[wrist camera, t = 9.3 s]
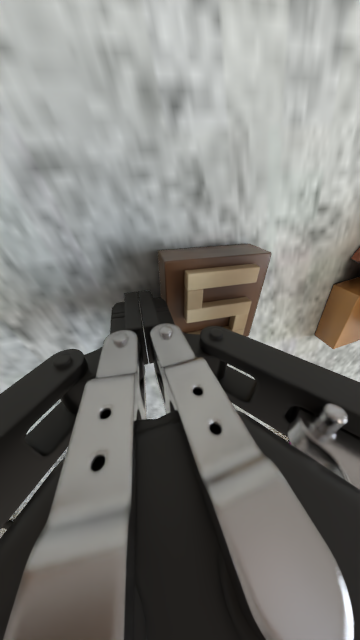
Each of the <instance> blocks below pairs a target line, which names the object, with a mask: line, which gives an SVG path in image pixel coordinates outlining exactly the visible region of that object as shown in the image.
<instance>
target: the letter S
mask: <svg viewBox="0 0 360 640" xmlns="http://www.w3.org/2000/svg"><path fill="white" fill-rule="evenodd" d="M270 257H271V252H268V251H266V250H264V249H261V248H259V247H256V246H254V245H251V244H240V245H226V246H212V247H198V248H184V249H170V250H159V251H158V266H159V279H160V293H161V298H162V299H164V300H165V301H166V303H167V306H168V308H169V311H170V313H171V316H172V318H173V321H174V323H175V325H177V326H178V327H179V328H180V329H181V331H182V332H184V333H188V334H200V332H201V331H202V329H204V328H205V327H208V326H220V327H223V328H226V329H228V330H231V331H233V332H236V333H238V334H241V335H243V336H246V337H247V336H249V333H250V329H251V326H252V322H253V318H254V315H255V311H256V308H257V304H258V300H259V297H260V293H261V290H262V286H263V282H264V279H265V275H266V272H267V268H268V264H269V261H270Z"/></svg>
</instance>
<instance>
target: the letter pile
mask: <svg viewBox="0 0 360 640" xmlns="http://www.w3.org/2000/svg"><path fill="white" fill-rule="evenodd" d="M351 259H352V260H354V261H356V262H358V263H360V247H359V249H358V250H357V251H356V252H355V254H354V255H353V256H352V257H351ZM315 336H316V337H318V338H319V339H320V340H322V341H323V342H324V343H326V344H327V345H328V346H330V347H331V348H332V349H335V348H338V347H341V346H343V345H346V344H349V343H352V342H355V341H358V340H360V277H357V278H354V279H350V280H347V281H344V282H341V283H337V284H334V285H333V288H332V290H331V293H330V296H329V298H328V301H327V303H326V306H325V309H324V311H323V314H322V317H321V319H320V322H319V325H318V327H317V330H316V332H315Z"/></svg>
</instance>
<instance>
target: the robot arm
mask: <svg viewBox="0 0 360 640" xmlns="http://www.w3.org/2000/svg"><path fill="white" fill-rule="evenodd" d="M138 294H139V301H140V307H141V313H140V307H139V301H138ZM138 294H137V292H132V293H124V296H125V302H119V303H116V304H115V305H114V306H113V308H112V315H111V328H110V335H108V336H107V337H106V339H105V340H104V343H103V347H101V348H100V349H98V350H96V351H93V352H91V353H88V354H86V355H83V353H82V352H81V351H79V350H77V349H68V350H64V351H61V352H58V353H56V354H54V355H53V356H51V357H50V358H48V359H47V360H46V361H44V362H43V363H42V364H40V365H39V366H38V367H36V368H35V369H34V370H32V371H31V372H29V373H28V374H27V375H25V376H24V377H23V378H21V379H20V380H19V381H17V382H16V383H15V384H13V385H12V386H11V387H9V388H8V389H6V390H5V391H4V392H2V393H1V394H0V529H1V528H6V529H7V531H6V532H5V533H4V535H3V536H2V537H1V539H0V640H360V382H357V381H355V380H352V379H350V378H347V377H345V376H343V375H340V374H338V373H335V372H333V371H330V370H328V369H325V368H323V367H320V366H318V365H315V364H313V363H310V362H308V361H305V360H303V359H300V358H298V357H295V356H293V355H290V354H288V353H285V352H283V351H280V350H278V349H275V348H273V347H270V346H268V345H266V344H263V343H261V342H258V341H256V340H253V339H251V338H248V337H246V336H243V335H241V334H238V333H236V332H233V331H231V330H228V329H226V328H223V327H220V326H208V327H205V328H204V329H202V331H201V332H200V334H188V333H184V332H182V331H181V329H180V328H179V327H178V326H177V325H175V323H174V321H173V318H172V316H171V313H170V311H169V308H168V306H167V303H166V301H165V300H164V299H162V298H161V297H158V298H153V297H152V294H151V290H148V291H140V292H138ZM141 314H142V320H143V326H144V333H145V339H146V345H147V351H148V357H149V363H154V368H155V375H156V379H157V383H158V386H159V390H160V393H161V397H162V400H163V404H164V407H165V411H166V415H164V416H162V417H160V418H158V419H147V418H146V393H145V366H144V365H145V364H148V359H147V352H146V346H145V339H144V333H143V326H142V320H141ZM227 363H228V364H230V365H232V366H234V367H236V368H238V369H240V370H242V371H244V372H246V373H248V374H249V375H251V376H253V377H254V378H255V380H254V379H252V378H250V377H248V376H246V375H244V374H242V373H240V372H238V371H236V370H234V369H232V368H230V367H228V366H227ZM59 399H61V402H60V403H59V404H58V405H57V406H56V407H55V408H54V409H53V410H52V411H51V412H50V413H49V414H48V415H47V416H46V417H45V418H44V419H43V420H42V421H41V422H40V423H39V424H38V425H37V426H36V427H35V428H34V429H33V430H32V431H31V432H30V433H29V434H27V435H26V433H27V431H28V430H29V429H30V427H31V426H32V425H33V424H34V423H35V422H36V421H37V420H38V419H39V418H40V417H41V416H42V415H44V414H45V413H46V412H47V411H48V410H49V409H50V408H51V407H52V406H53V405H54V404H55V403H56V402H57V401H58V400H59ZM231 402H232V403H233V404H235V405H237V406H238V407H240V408H241V409H243V410H245V411H246V412H248V413H250V414H251V415H253V416H255V417H256V418H258V419H259V420H261V421H263V422H264V423H266V424H268V425H269V426H271V427H273V428H274V429H276V430H277V431H279V432H281V433H282V434H284V435H286V436H287V437H288V438H289V440H290V442H291V444H292V445H291V444H290V443H288V442H287V441H285V440H284V439H282V438H281V437H279V436H278V435H276V434H275V433H273V432H272V431H270V430H269V429H267V428H266V427H264V426H263V425H261V424H260V423H258V422H257V421H255V420H254V419H252V418H250V417H249V416H247V415H246V414H244V413H242V412H240V411H237V410H235V408H234V406H233V405H232V403H231ZM67 447H68V449H67V453H66V456H65V458H64V459H63V460H62V461H61V462H60V463H59V464H58V465H57V466H56V467H55V468H54V470H53V471H52V472H51V473H50V475H49V476H48V477H47V478H46V480H45V481H44V482H43V484H42V485H41V486H40V488H39V489H38V490H37V491H36V493H35V494H34V495H33V497H32V498H31V499H30V501H29V502H28V503H27V505H26V506H25V507H24V508H23V510H22V511H21V512H20V514H19V515H18V516H17V518H16V519H15V520H14V522H12V521H8V520H9V518H10V517H11V516H12V515H13V513H14V512H15V511H16V510H17V508H18V507H19V506H20V505H21V504H22V502H23V501H24V500H25V499H26V497H27V496H28V495H29V494H30V493H31V491H32V490H33V489H34V488H35V486H36V485H37V484H38V483H39V481H40V480H41V479H42V478H43V477H44V475H45V474H46V473H47V472H48V470H49V469H50V468H51V467H52V465H53V464H54V463H55V462H56V461H57V459H58V458H59V457H60V456H61V454H62V453H63V452H64V451H65V450H66V448H67Z"/></svg>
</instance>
